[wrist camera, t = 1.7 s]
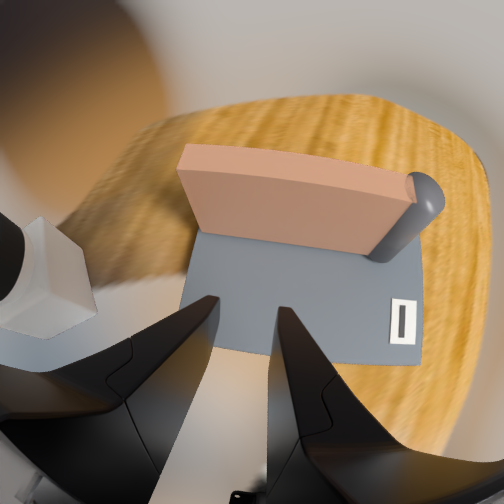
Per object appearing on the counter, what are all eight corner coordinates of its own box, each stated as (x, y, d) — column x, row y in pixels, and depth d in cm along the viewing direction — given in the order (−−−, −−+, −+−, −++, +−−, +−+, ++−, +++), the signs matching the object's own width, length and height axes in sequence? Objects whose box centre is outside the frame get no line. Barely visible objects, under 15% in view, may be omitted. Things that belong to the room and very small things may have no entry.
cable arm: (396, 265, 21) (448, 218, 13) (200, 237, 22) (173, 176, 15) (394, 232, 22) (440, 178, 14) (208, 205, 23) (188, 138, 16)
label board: (414, 365, 19) (421, 365, 18) (176, 338, 20) (172, 337, 19) (411, 208, 24) (416, 202, 23) (216, 178, 26) (214, 170, 25)
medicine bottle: (83, 248, 24) (5, 179, 13) (99, 314, 21) (-1, 268, 10) (35, 277, 23) (-45, 228, 12) (47, 341, 20) (-50, 312, 9)
